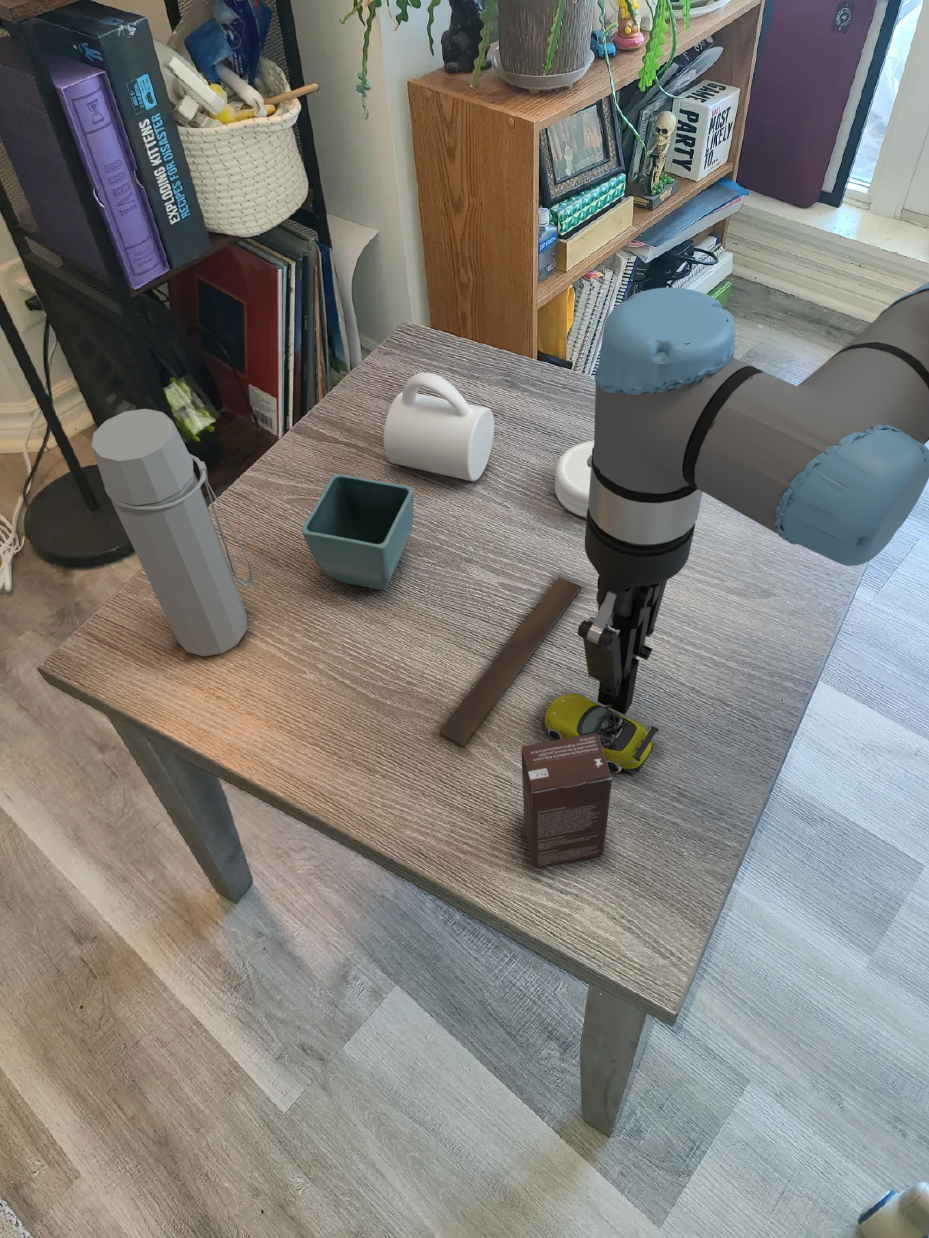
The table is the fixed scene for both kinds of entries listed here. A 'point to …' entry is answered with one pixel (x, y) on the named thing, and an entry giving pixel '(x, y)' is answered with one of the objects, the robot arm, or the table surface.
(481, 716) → the ruler
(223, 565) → the water bottle
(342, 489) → the flower pot
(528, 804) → the box
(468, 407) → the mug
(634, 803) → the table surface
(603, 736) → the sports car
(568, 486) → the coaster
